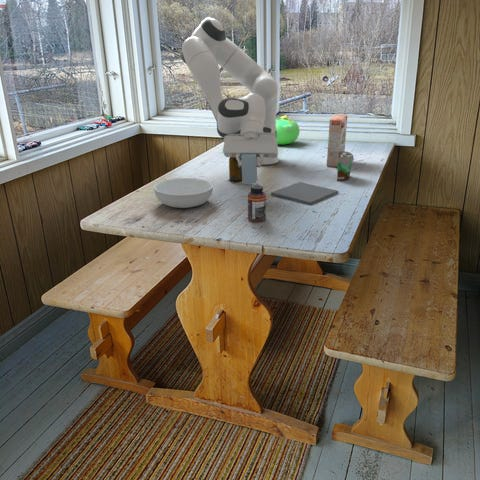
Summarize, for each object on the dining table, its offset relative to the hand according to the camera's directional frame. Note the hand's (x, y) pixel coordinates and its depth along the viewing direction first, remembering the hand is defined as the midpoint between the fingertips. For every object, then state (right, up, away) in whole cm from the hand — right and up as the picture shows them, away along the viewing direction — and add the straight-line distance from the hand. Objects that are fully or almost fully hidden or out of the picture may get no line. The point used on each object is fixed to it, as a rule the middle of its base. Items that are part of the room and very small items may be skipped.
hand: (249, 166), depth 183 cm
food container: (+40, -1, +26) cm, 48 cm away
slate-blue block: (0, -5, +3) cm, 6 cm away
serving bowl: (-23, -14, -1) cm, 27 cm away
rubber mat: (+21, -9, +7) cm, 24 cm away
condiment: (-5, -2, +25) cm, 26 cm away
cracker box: (+40, +8, +48) cm, 63 cm away
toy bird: (+19, +24, +87) cm, 92 cm away
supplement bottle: (+2, -20, -17) cm, 26 cm away
